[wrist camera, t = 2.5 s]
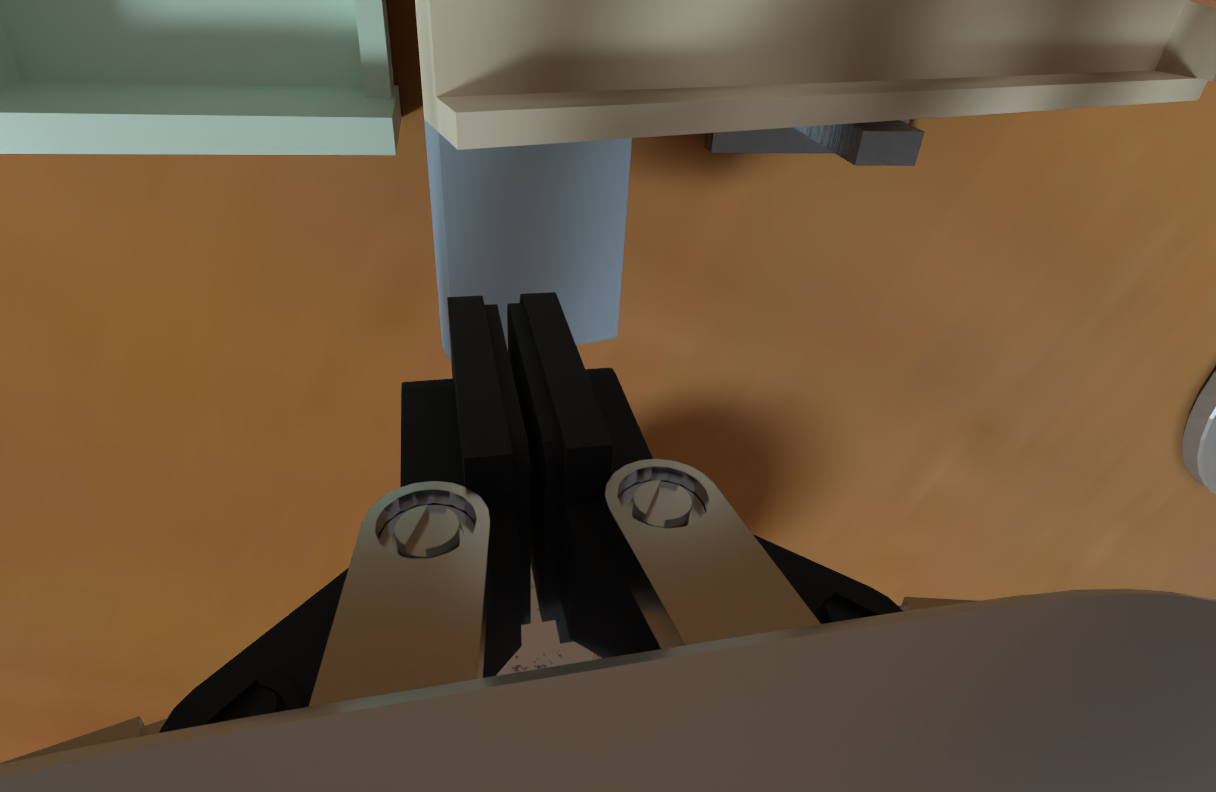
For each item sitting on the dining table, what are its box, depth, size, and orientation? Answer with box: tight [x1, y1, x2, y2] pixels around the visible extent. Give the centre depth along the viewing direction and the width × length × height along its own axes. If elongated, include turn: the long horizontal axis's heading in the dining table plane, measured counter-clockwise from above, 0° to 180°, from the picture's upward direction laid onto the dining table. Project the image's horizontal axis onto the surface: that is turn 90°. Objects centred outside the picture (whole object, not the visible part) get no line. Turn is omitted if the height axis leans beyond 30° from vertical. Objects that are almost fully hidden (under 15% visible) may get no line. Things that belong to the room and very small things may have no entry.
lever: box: [415, 0, 1216, 363], centre depth 16 cm, size 22×13×3 cm, turn 86°
